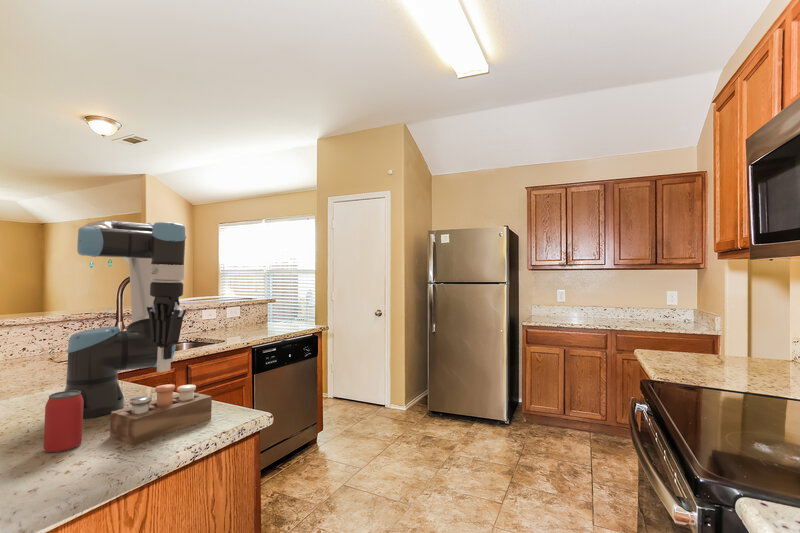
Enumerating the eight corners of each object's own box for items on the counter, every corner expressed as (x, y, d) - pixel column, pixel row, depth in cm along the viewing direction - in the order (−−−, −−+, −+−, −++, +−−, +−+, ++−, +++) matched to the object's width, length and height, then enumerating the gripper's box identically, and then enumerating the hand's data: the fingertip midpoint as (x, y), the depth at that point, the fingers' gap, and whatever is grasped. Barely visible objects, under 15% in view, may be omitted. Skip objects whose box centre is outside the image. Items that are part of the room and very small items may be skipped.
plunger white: (173, 413, 105) (173, 387, 105) (188, 408, 109) (188, 383, 109) (183, 415, 103) (184, 390, 103) (198, 411, 107) (199, 386, 107)
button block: (109, 437, 94) (110, 412, 94) (187, 412, 112) (188, 391, 112) (134, 445, 89) (135, 419, 89) (211, 418, 107) (211, 396, 107)
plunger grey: (125, 428, 94) (126, 399, 94) (143, 422, 98) (144, 395, 98) (135, 431, 92) (137, 402, 92) (154, 425, 96) (155, 397, 96)
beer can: (59, 455, 84) (61, 399, 84) (35, 452, 85) (37, 396, 86) (89, 442, 90) (91, 390, 91) (66, 440, 92) (68, 388, 92)
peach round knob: (150, 414, 100) (151, 387, 100) (167, 409, 104) (168, 383, 104) (161, 417, 98) (162, 389, 98) (178, 412, 102) (178, 385, 102)
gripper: (137, 280, 102) (133, 370, 102) (169, 282, 97) (165, 378, 96) (165, 280, 109) (162, 364, 109) (196, 282, 103) (193, 371, 103)
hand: (163, 370), depth 103 cm, fingers closed
